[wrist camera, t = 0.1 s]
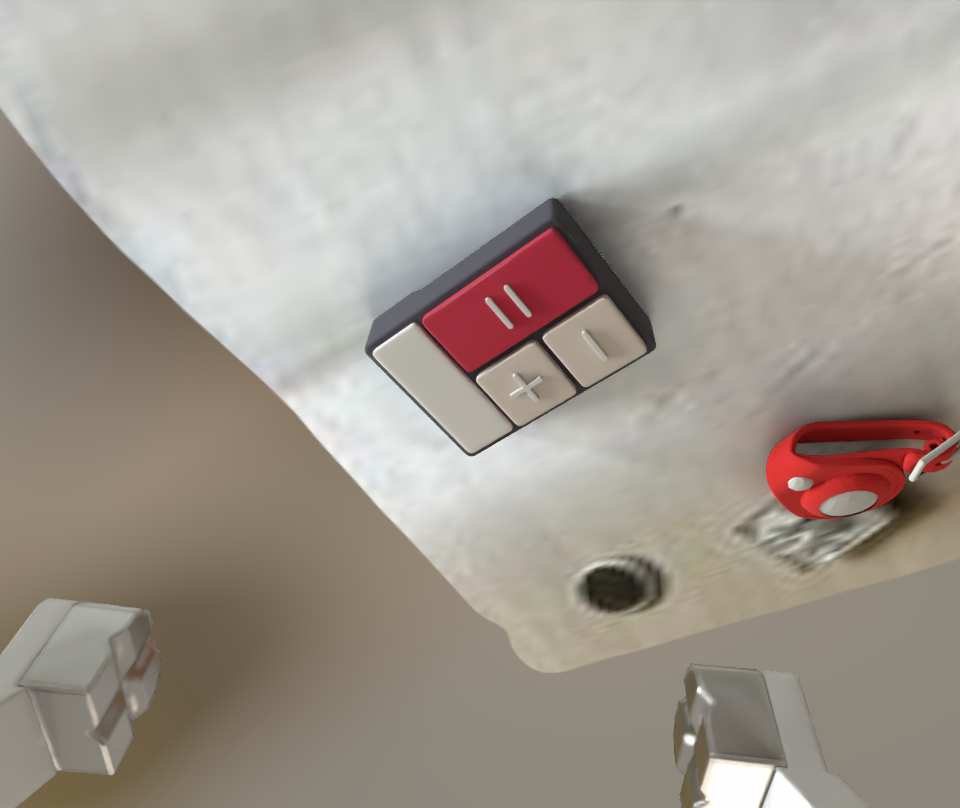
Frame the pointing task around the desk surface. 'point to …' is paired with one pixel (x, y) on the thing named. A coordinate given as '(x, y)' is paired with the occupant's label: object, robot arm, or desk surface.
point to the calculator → (511, 331)
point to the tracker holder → (854, 466)
